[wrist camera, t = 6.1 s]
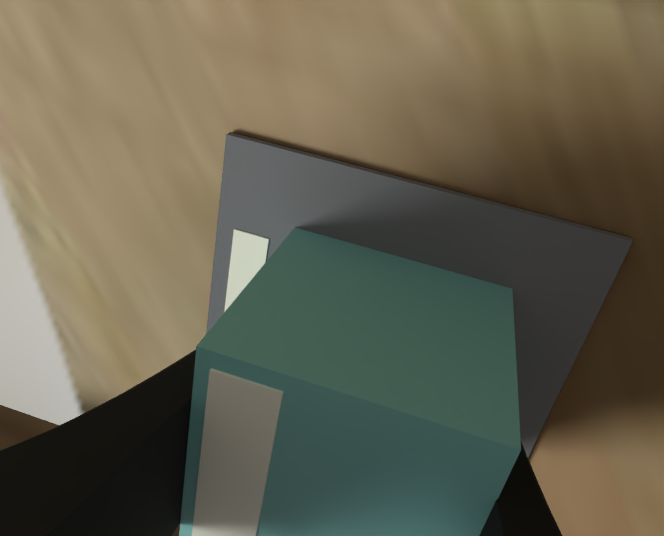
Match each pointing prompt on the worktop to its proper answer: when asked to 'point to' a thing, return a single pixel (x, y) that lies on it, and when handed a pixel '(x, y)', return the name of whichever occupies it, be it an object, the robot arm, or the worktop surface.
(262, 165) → the mat
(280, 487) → the cube
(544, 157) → the worktop surface
